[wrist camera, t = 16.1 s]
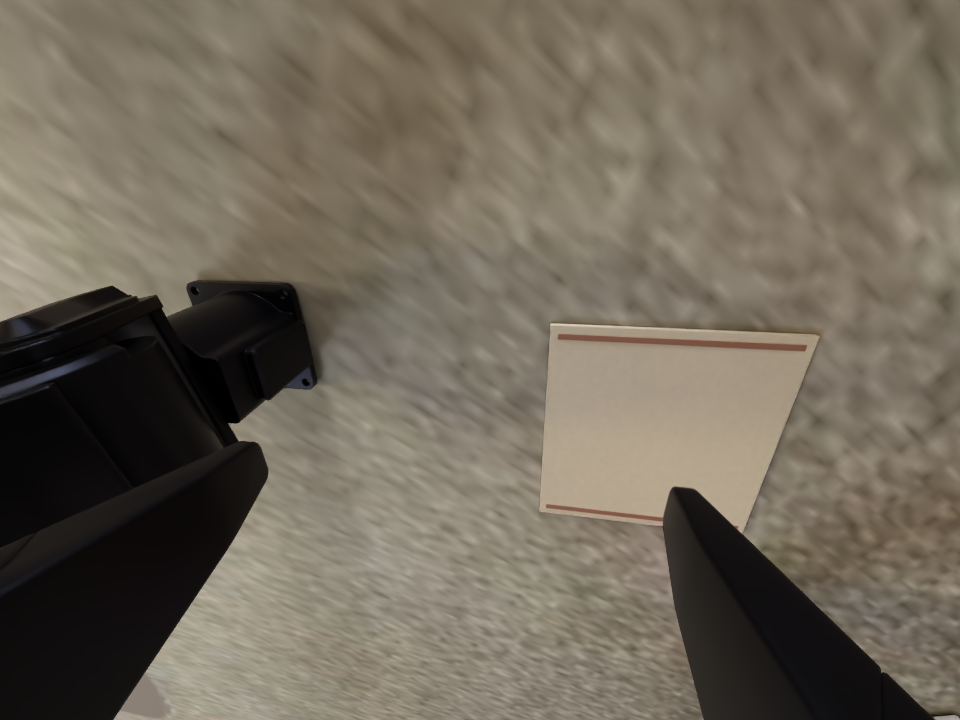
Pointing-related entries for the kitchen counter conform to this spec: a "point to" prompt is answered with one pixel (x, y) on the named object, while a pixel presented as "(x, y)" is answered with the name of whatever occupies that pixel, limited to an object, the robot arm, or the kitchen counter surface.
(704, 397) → the napkin
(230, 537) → the robot arm
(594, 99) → the kitchen counter surface
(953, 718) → the light bulb box
